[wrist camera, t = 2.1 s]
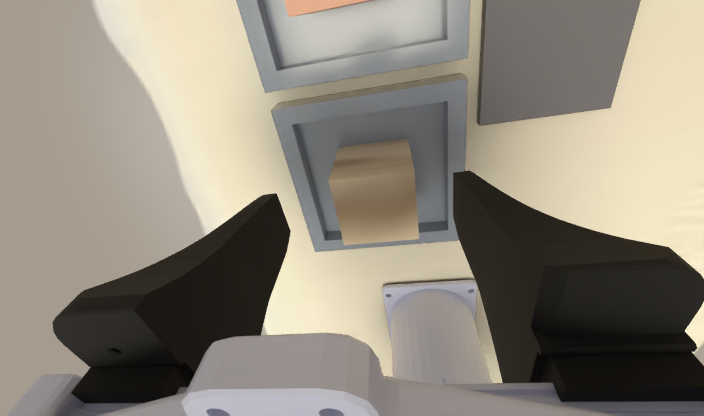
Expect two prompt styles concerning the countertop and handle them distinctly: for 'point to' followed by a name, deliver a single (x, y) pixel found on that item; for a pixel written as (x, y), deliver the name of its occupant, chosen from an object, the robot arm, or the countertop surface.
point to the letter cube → (316, 5)
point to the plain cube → (375, 192)
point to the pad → (551, 56)
